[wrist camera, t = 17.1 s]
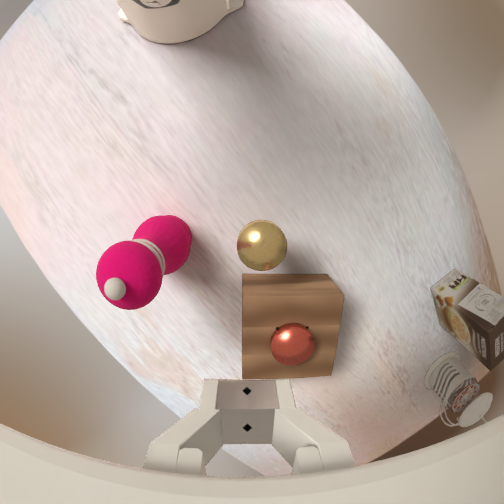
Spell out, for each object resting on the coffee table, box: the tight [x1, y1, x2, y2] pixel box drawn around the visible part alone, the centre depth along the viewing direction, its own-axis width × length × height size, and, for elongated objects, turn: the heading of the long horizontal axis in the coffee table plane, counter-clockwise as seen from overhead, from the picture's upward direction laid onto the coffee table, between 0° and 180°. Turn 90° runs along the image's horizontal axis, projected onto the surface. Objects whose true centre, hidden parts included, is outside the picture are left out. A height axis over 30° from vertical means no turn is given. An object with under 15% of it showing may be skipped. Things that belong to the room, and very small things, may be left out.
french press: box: [424, 352, 493, 427], centre depth 37 cm, size 10×12×25 cm
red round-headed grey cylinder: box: [270, 323, 315, 365], centre depth 38 cm, size 5×5×9 cm
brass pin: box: [237, 220, 287, 271], centre depth 36 cm, size 5×5×9 cm
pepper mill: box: [96, 215, 191, 310], centre depth 30 cm, size 7×7×20 cm
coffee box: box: [431, 269, 504, 371], centre depth 36 cm, size 9×6×16 cm
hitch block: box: [242, 274, 344, 379], centre depth 39 cm, size 12×12×8 cm
